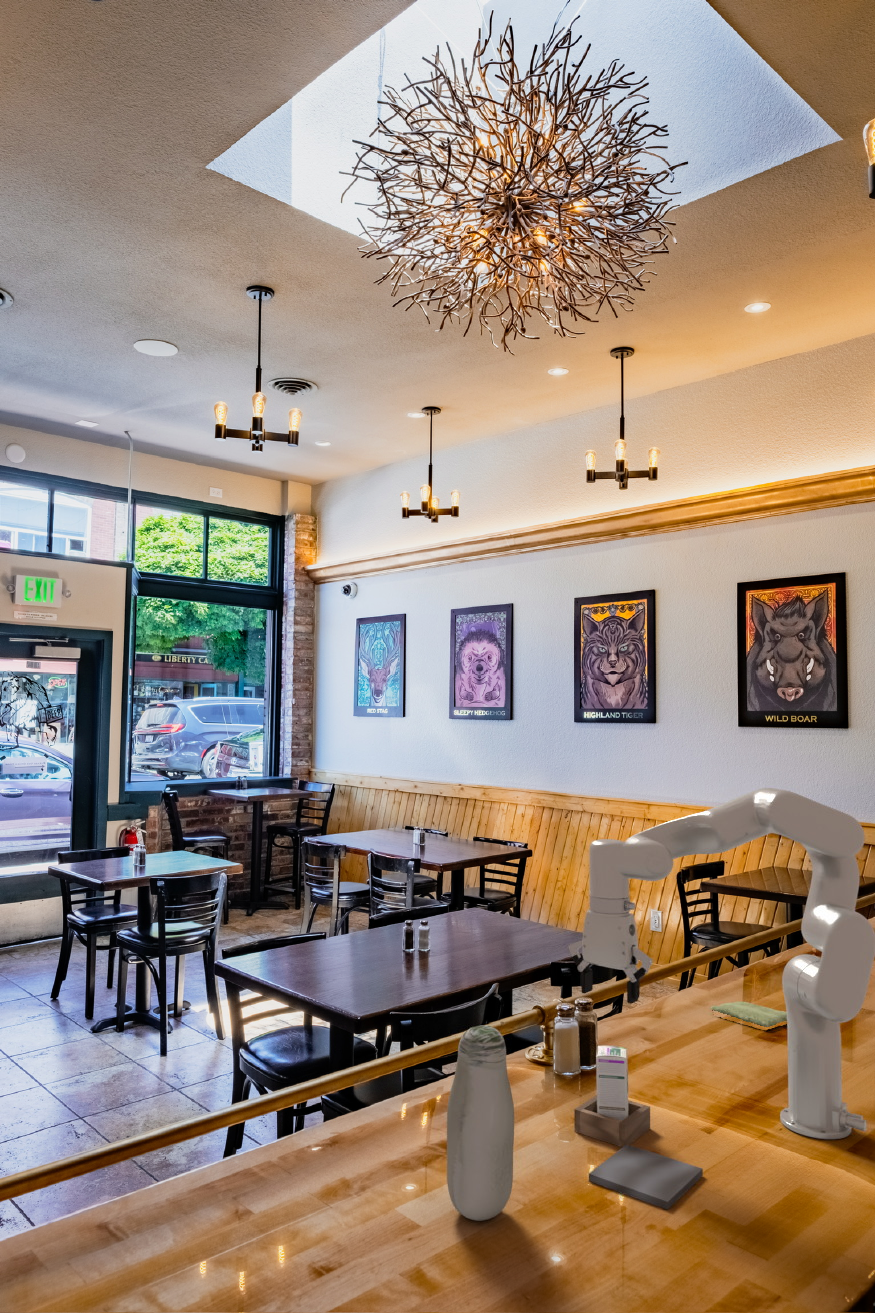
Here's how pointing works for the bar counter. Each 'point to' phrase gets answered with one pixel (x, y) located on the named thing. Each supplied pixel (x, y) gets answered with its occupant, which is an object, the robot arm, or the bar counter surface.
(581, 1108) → the walnut holder
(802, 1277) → the bar counter surface
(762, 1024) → the washcloth
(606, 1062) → the syrup box
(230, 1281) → the bar counter surface
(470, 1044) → the white bottle
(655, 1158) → the serving board
